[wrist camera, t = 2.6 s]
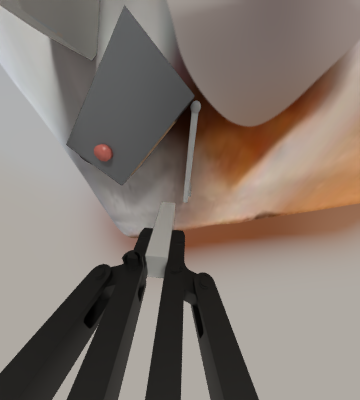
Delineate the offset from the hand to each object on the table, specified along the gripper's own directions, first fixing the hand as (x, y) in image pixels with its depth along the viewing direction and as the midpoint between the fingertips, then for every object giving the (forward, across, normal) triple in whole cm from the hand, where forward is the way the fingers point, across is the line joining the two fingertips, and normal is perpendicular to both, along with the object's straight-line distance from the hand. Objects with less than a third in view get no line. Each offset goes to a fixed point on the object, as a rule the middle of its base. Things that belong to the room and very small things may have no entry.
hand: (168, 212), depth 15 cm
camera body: (+18, -8, +8) cm, 21 cm away
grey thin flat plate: (+18, +2, +3) cm, 19 cm away
